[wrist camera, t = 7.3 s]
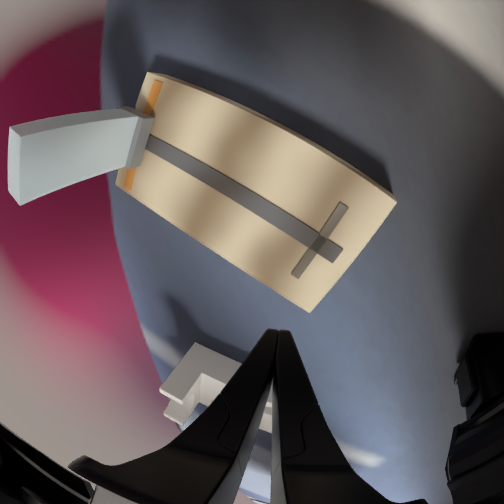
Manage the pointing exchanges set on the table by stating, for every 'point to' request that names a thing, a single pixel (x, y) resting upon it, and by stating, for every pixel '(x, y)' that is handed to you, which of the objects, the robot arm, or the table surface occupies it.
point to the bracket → (202, 384)
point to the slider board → (253, 189)
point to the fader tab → (73, 149)
